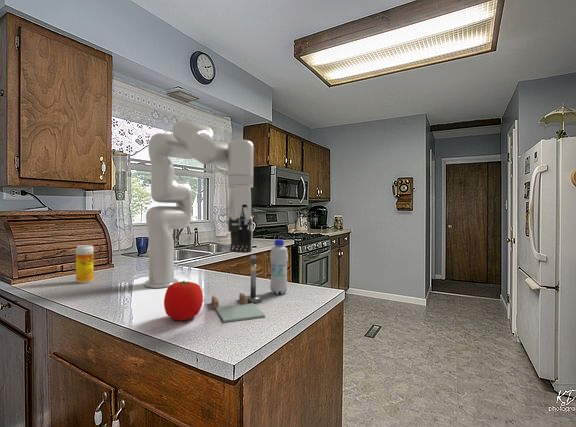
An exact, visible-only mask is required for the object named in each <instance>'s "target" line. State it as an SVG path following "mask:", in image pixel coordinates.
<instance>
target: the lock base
mask: <svg viewBox="0 0 576 427" xmlns="http://www.w3.org/2000/svg"><path fill="white" fill-rule="evenodd" d="M245 296H246V297H247V298H248V304H250V303H254V304H255V305H257V304H260V303H261V302H262V301H261V295H257V294H256V297H255V298H251V297H250V295H249V294H248V295H245Z"/></svg>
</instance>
